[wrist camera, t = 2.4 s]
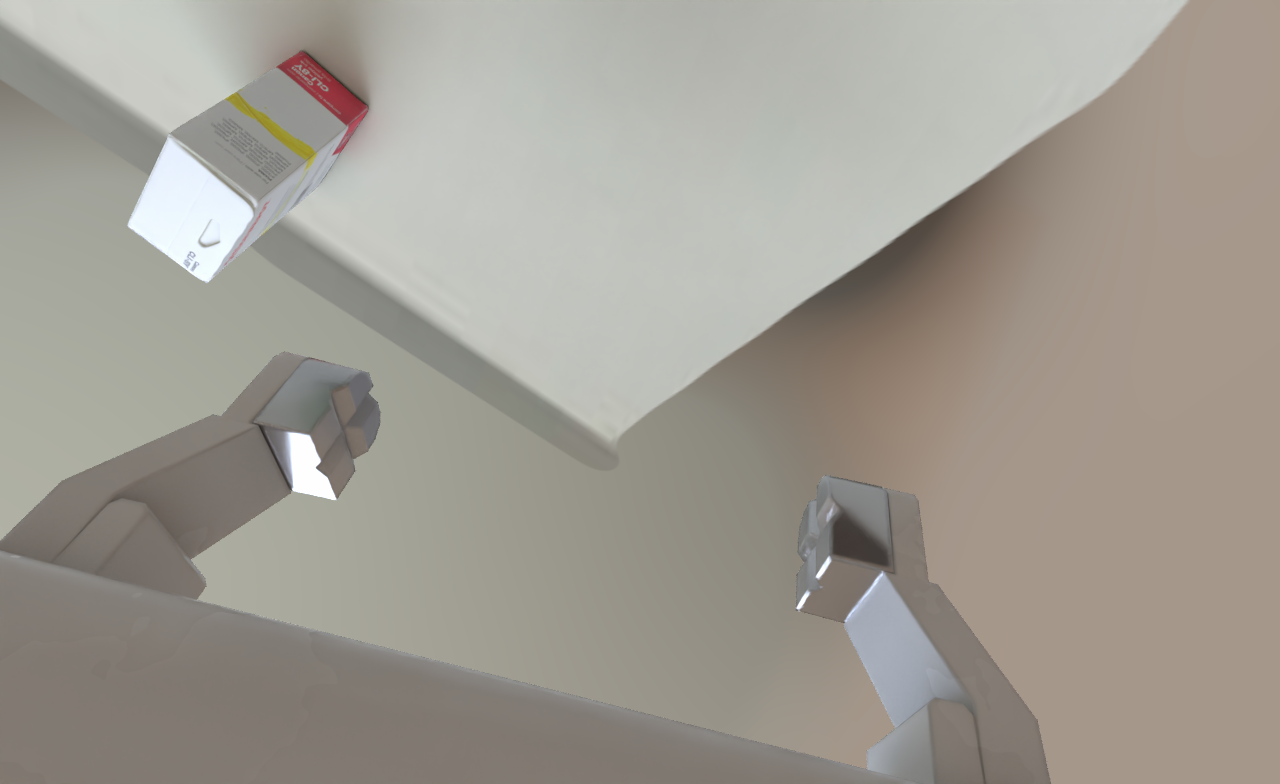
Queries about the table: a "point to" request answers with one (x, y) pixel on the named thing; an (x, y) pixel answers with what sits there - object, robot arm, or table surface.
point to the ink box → (245, 165)
